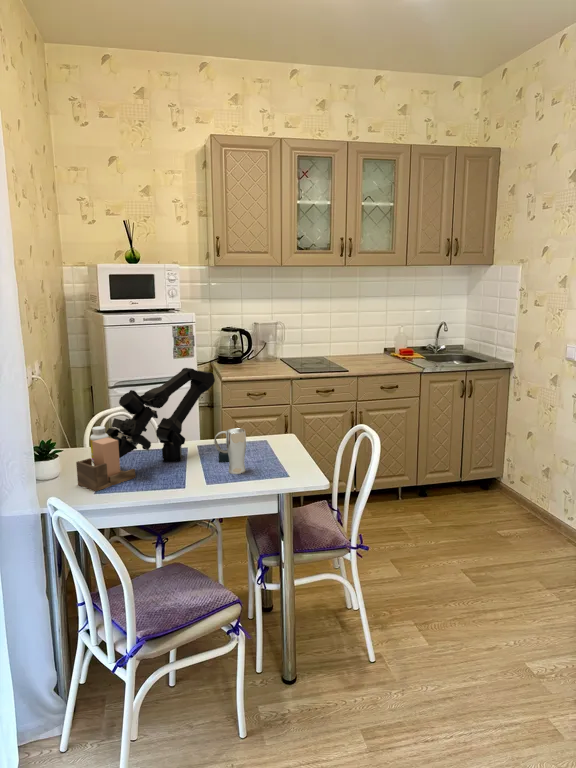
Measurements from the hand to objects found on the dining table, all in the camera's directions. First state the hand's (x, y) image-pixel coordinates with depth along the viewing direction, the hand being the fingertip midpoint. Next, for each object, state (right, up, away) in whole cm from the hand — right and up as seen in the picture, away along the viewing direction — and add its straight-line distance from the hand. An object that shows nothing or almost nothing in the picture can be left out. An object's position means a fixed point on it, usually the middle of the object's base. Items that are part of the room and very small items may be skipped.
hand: (114, 459), depth 201 cm
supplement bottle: (-11, -3, +20) cm, 23 cm away
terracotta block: (-2, -6, -1) cm, 6 cm away
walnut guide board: (-2, -7, -1) cm, 8 cm away
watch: (+36, -3, +20) cm, 41 cm away
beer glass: (+41, -5, +7) cm, 42 cm away
